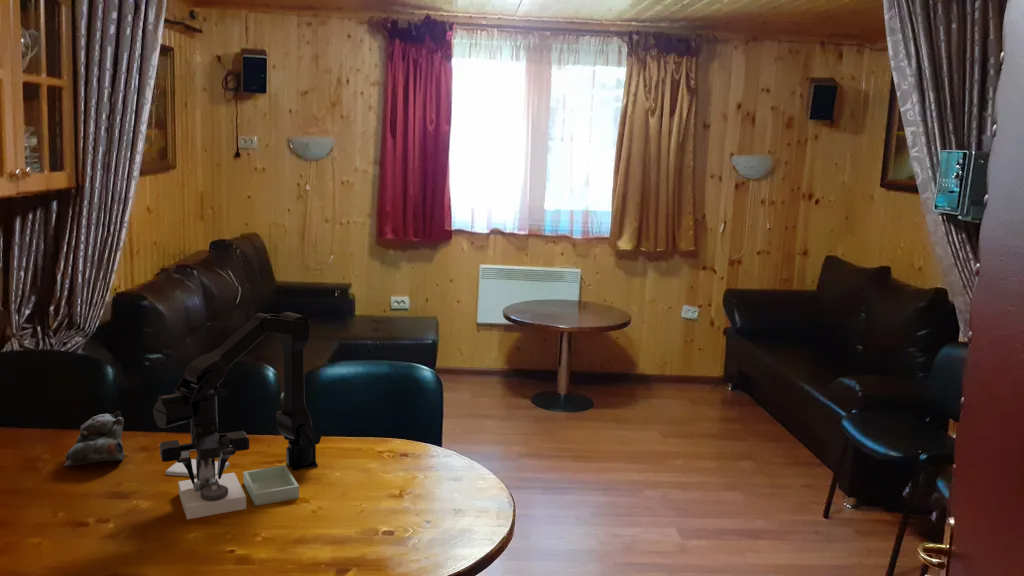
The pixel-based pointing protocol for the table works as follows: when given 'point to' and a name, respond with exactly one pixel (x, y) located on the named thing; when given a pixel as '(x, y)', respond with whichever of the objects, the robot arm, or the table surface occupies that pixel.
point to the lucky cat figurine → (98, 441)
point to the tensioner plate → (212, 497)
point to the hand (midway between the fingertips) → (206, 480)
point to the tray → (271, 485)
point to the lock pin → (205, 473)
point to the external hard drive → (180, 469)
